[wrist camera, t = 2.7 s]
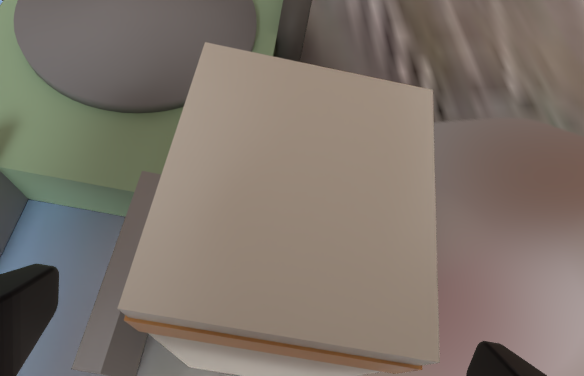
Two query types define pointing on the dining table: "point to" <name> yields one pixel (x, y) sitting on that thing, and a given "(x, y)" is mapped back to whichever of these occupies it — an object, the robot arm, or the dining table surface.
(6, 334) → the robot arm
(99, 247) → the dining table surface
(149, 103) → the green and grey base
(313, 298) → the beige box
